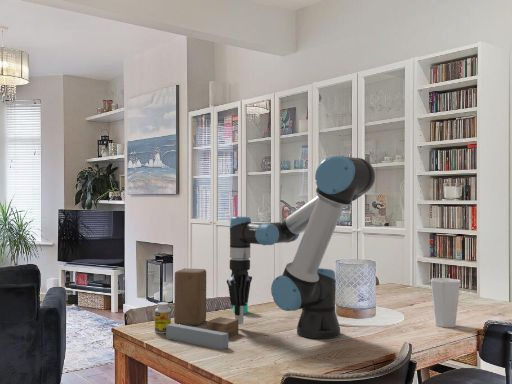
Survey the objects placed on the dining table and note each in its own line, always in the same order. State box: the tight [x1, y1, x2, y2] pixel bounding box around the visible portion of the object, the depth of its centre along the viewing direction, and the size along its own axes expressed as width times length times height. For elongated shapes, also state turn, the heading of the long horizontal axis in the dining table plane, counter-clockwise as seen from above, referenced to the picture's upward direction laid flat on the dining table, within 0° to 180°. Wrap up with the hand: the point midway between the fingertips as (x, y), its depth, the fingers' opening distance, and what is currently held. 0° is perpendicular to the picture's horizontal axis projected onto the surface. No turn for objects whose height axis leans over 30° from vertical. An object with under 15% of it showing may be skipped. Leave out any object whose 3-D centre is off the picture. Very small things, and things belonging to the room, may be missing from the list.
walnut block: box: [206, 316, 239, 338], centre depth 190 cm, size 8×8×5 cm
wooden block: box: [173, 268, 207, 326], centre depth 208 cm, size 10×10×20 cm
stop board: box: [165, 322, 229, 350], centre depth 178 cm, size 24×3×4 cm, turn 56°
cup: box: [429, 277, 461, 328], centre depth 205 cm, size 11×10×17 cm
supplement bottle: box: [154, 301, 172, 335], centre depth 192 cm, size 6×6×10 cm
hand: (239, 323), depth 198 cm, fingers closed
